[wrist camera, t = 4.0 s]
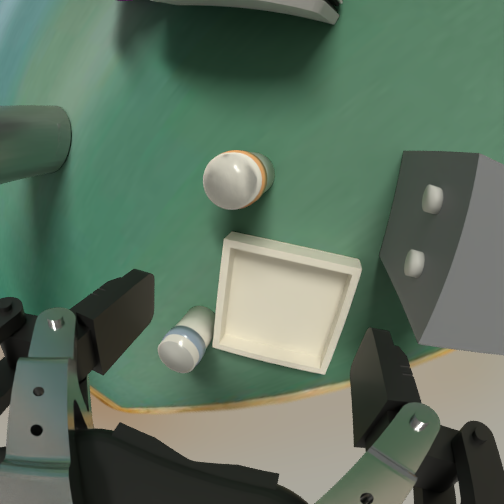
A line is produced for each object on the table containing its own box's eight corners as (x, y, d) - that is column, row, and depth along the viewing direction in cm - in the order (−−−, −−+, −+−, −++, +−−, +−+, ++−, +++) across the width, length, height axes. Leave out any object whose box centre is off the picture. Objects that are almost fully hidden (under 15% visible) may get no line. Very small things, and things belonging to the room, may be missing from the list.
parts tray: (219, 334, 33) (212, 347, 31) (232, 231, 29) (223, 238, 26) (325, 360, 31) (324, 374, 29) (359, 259, 27) (362, 269, 24)
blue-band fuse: (184, 330, 34) (156, 364, 28) (186, 300, 33) (156, 332, 26) (218, 341, 33) (195, 379, 27) (222, 311, 32) (197, 348, 26)
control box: (372, 253, 26) (407, 342, 13) (396, 148, 23) (467, 148, 10) (451, 273, 25) (516, 356, 12) (478, 177, 21) (574, 206, 8)
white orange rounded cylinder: (227, 192, 28) (198, 206, 21) (233, 147, 26) (204, 146, 20) (272, 201, 27) (255, 217, 20) (279, 154, 25) (265, 155, 19)
